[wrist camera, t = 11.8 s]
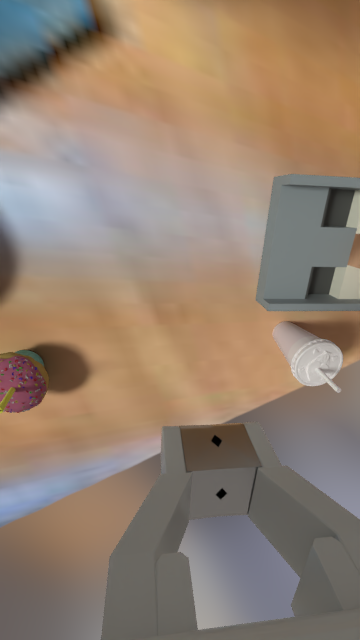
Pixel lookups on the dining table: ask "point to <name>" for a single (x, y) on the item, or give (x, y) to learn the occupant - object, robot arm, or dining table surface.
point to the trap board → (311, 245)
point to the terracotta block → (355, 253)
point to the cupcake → (21, 381)
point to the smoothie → (308, 355)
